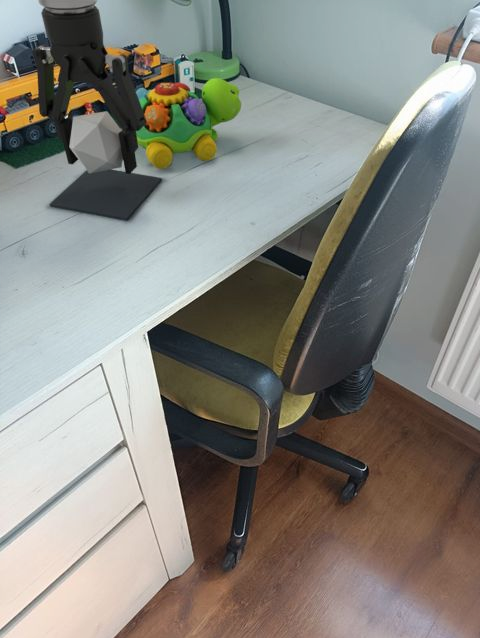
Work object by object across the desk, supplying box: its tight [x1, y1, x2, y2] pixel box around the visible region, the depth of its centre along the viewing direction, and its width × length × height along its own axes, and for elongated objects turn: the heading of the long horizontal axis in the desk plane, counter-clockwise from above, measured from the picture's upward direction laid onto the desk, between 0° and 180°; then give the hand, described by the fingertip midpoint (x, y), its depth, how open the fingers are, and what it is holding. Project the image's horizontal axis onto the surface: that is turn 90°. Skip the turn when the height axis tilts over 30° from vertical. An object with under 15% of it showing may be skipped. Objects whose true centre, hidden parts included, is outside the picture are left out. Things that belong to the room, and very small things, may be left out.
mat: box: [49, 169, 163, 222], centre depth 88 cm, size 14×14×1 cm
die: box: [69, 110, 124, 174], centre depth 82 cm, size 8×9×10 cm
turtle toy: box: [136, 77, 242, 170], centre depth 97 cm, size 17×23×12 cm
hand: (102, 165), depth 85 cm, fingers closed on die, 10 cm apart
